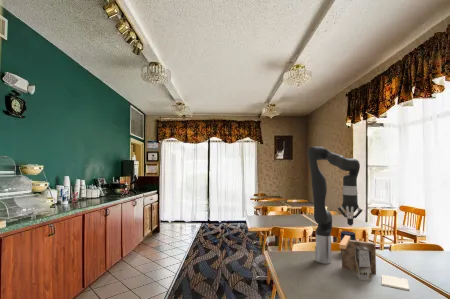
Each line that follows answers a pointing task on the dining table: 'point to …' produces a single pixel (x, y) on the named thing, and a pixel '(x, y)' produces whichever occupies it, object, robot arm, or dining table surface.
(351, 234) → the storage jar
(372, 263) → the brown wooden flat panel
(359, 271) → the coffee box
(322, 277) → the dining table surface
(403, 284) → the cream pad
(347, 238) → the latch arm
